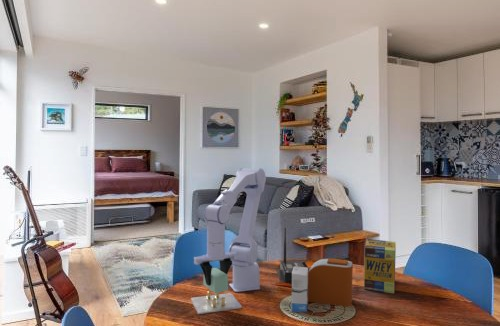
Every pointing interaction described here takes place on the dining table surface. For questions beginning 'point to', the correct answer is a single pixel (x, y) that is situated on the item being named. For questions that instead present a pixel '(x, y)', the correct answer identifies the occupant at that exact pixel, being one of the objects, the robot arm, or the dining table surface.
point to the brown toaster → (330, 282)
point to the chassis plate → (205, 304)
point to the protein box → (379, 266)
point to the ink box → (299, 289)
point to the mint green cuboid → (217, 281)
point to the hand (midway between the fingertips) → (215, 283)
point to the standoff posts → (215, 299)
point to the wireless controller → (288, 266)
